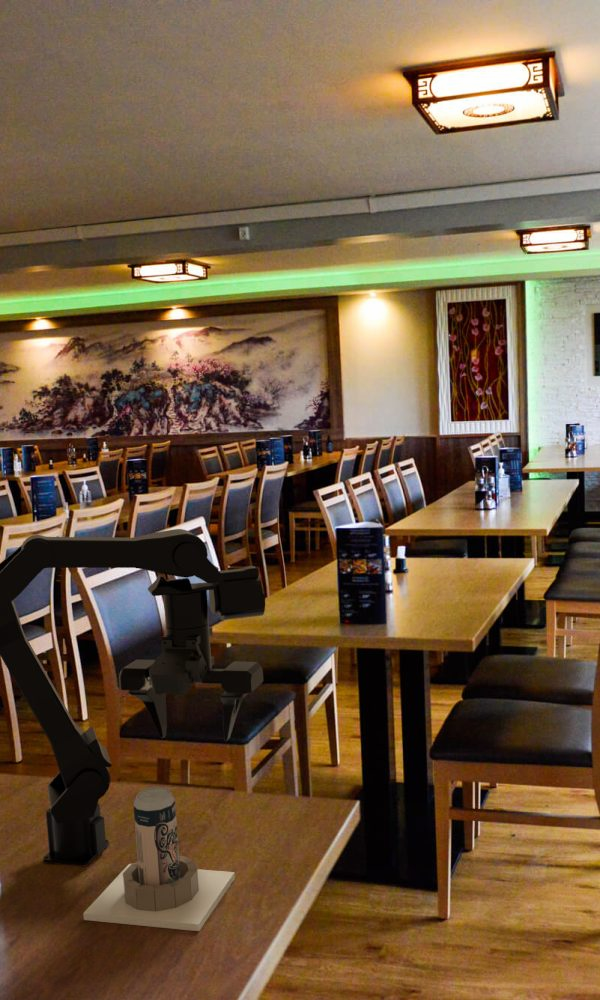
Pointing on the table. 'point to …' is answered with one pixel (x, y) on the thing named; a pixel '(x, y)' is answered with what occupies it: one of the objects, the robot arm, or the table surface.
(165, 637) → the robot arm
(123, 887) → the socket board
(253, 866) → the table surface
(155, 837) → the beer can
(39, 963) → the table surface
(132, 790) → the table surface
